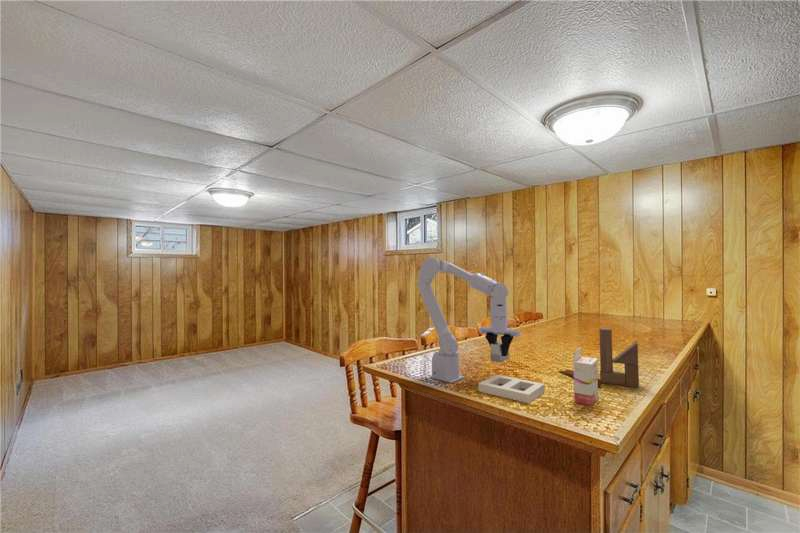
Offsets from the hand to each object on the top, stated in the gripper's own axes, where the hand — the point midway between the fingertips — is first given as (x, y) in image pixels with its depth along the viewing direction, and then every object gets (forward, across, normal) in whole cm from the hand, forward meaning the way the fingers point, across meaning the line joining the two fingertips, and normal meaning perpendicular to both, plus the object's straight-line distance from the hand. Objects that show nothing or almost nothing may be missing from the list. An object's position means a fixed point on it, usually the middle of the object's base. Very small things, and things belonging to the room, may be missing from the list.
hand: (499, 354), depth 124 cm
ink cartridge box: (+9, -29, +3) cm, 30 cm away
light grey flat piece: (+8, -9, +10) cm, 16 cm away
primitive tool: (+9, -21, -16) cm, 28 cm away
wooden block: (+9, -33, -19) cm, 39 cm away
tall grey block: (+2, 0, 0) cm, 2 cm away
